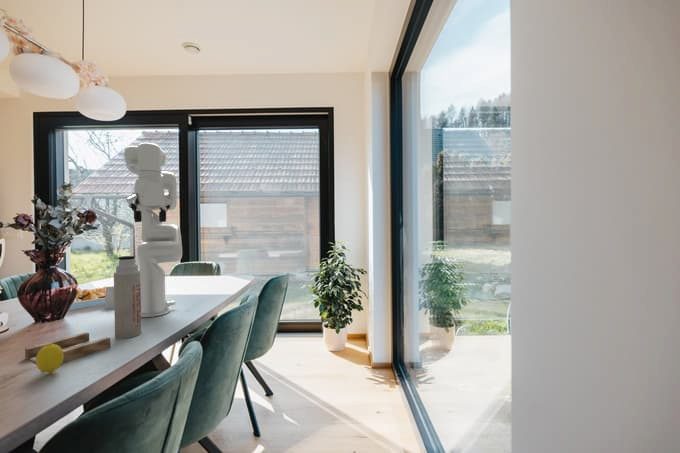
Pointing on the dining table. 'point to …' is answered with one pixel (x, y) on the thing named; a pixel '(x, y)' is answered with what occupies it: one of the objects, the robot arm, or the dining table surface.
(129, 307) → the thermos bottle
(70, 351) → the rail rest
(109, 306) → the grey rectangular block
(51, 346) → the lemon
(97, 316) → the dining table surface
